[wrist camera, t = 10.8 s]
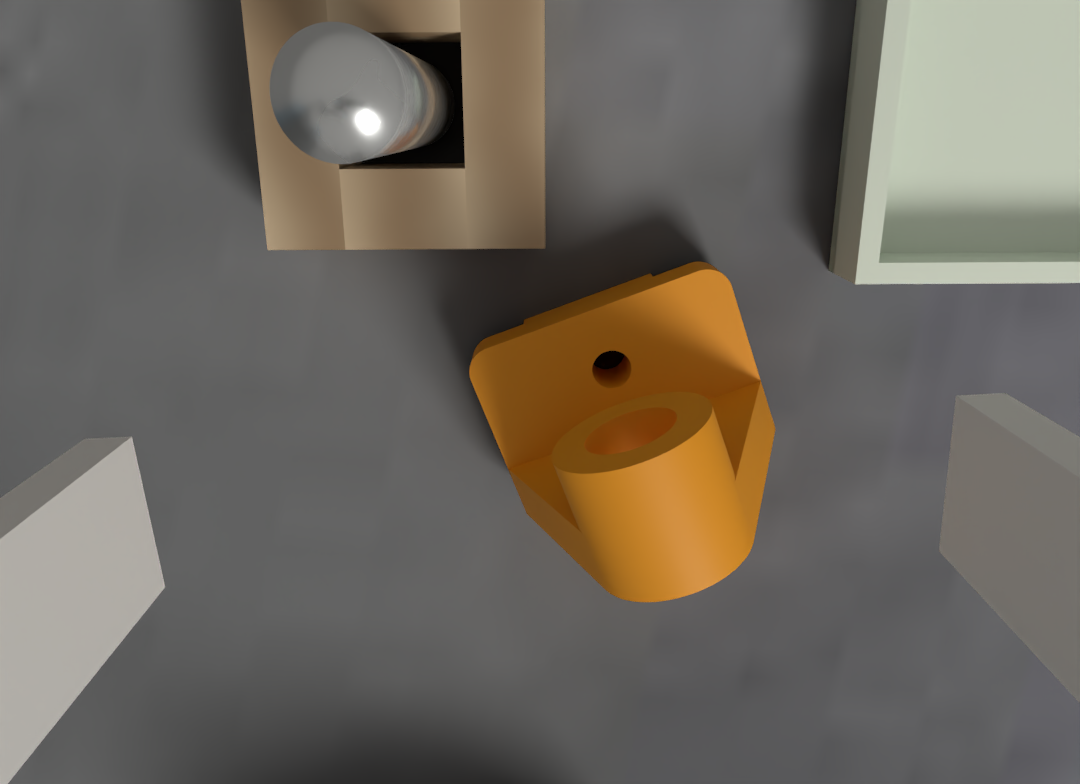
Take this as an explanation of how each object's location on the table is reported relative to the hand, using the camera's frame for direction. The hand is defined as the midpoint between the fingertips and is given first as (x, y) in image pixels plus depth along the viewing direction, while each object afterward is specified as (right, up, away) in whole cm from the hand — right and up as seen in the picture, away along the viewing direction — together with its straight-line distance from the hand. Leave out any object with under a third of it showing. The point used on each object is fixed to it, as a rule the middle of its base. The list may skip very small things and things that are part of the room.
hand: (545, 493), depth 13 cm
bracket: (+3, +2, +22) cm, 23 cm away
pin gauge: (-5, +13, +19) cm, 23 cm away
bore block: (-5, +13, +19) cm, 23 cm away
